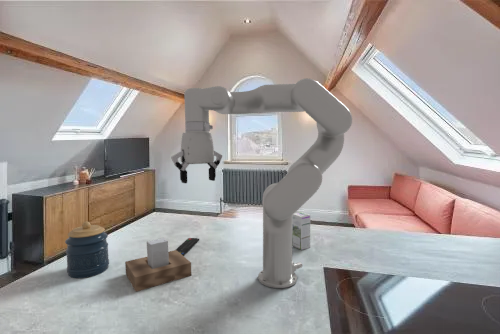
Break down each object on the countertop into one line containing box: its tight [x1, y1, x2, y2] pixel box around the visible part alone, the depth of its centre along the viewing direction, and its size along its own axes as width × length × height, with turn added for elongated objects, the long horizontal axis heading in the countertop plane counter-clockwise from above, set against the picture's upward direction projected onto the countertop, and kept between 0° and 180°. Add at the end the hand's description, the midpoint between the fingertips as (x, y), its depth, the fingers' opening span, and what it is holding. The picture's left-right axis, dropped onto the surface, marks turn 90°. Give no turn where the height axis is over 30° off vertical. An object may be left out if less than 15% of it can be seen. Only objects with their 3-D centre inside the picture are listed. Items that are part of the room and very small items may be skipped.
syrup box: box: [292, 211, 311, 251], centre depth 121 cm, size 6×6×14 cm
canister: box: [64, 221, 110, 279], centre depth 99 cm, size 13×13×18 cm
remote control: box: [175, 237, 200, 257], centre depth 119 cm, size 5×24×1 cm, turn 171°
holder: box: [124, 249, 192, 292], centre depth 96 cm, size 18×14×4 cm
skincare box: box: [146, 237, 169, 269], centre depth 96 cm, size 6×4×12 cm
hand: (198, 181), depth 92 cm, fingers open, 9 cm apart
